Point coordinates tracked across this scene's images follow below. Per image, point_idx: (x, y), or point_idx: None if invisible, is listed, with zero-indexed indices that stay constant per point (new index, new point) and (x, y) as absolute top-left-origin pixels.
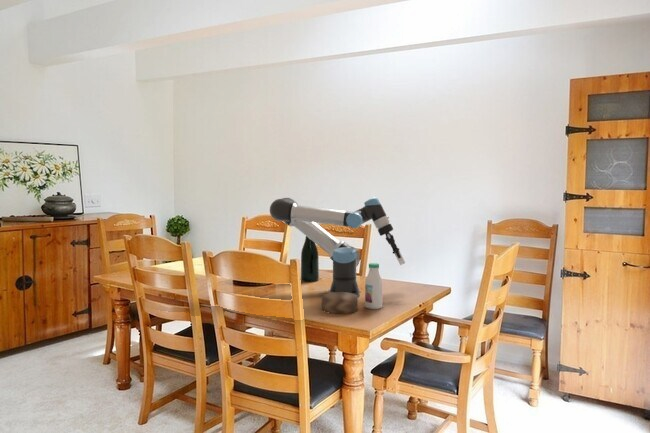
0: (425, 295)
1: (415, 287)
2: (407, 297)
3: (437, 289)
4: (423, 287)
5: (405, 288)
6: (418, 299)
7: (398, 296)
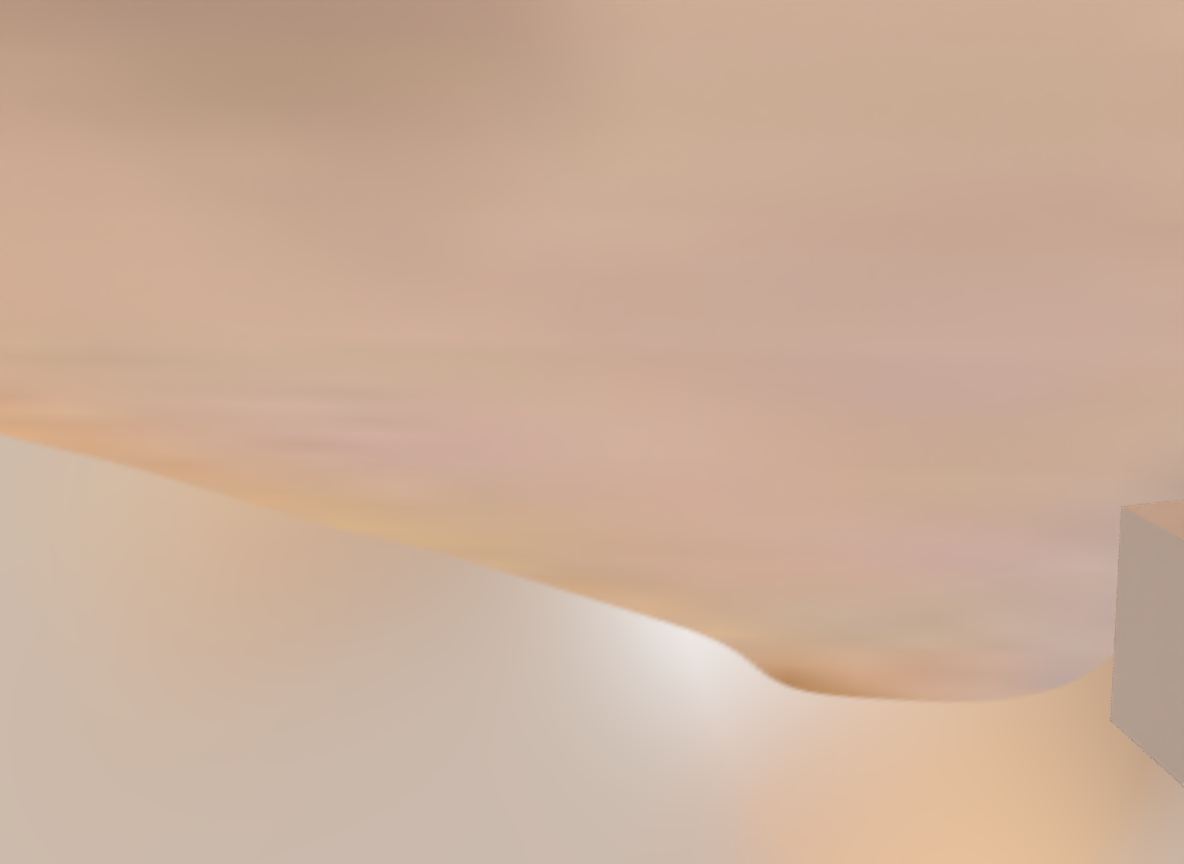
0: (454, 475)
1: (1127, 355)
2: (182, 201)
3: (917, 625)
4: (1100, 472)
5: (1061, 171)
6: (106, 374)
7: (199, 13)
